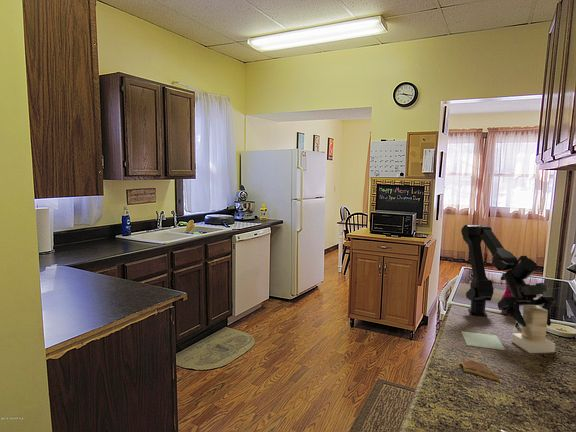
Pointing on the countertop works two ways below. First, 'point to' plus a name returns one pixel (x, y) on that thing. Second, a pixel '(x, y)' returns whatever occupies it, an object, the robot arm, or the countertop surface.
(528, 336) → the oak block
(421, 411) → the countertop surface
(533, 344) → the stand
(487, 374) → the shard
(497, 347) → the mat
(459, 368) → the countertop surface
